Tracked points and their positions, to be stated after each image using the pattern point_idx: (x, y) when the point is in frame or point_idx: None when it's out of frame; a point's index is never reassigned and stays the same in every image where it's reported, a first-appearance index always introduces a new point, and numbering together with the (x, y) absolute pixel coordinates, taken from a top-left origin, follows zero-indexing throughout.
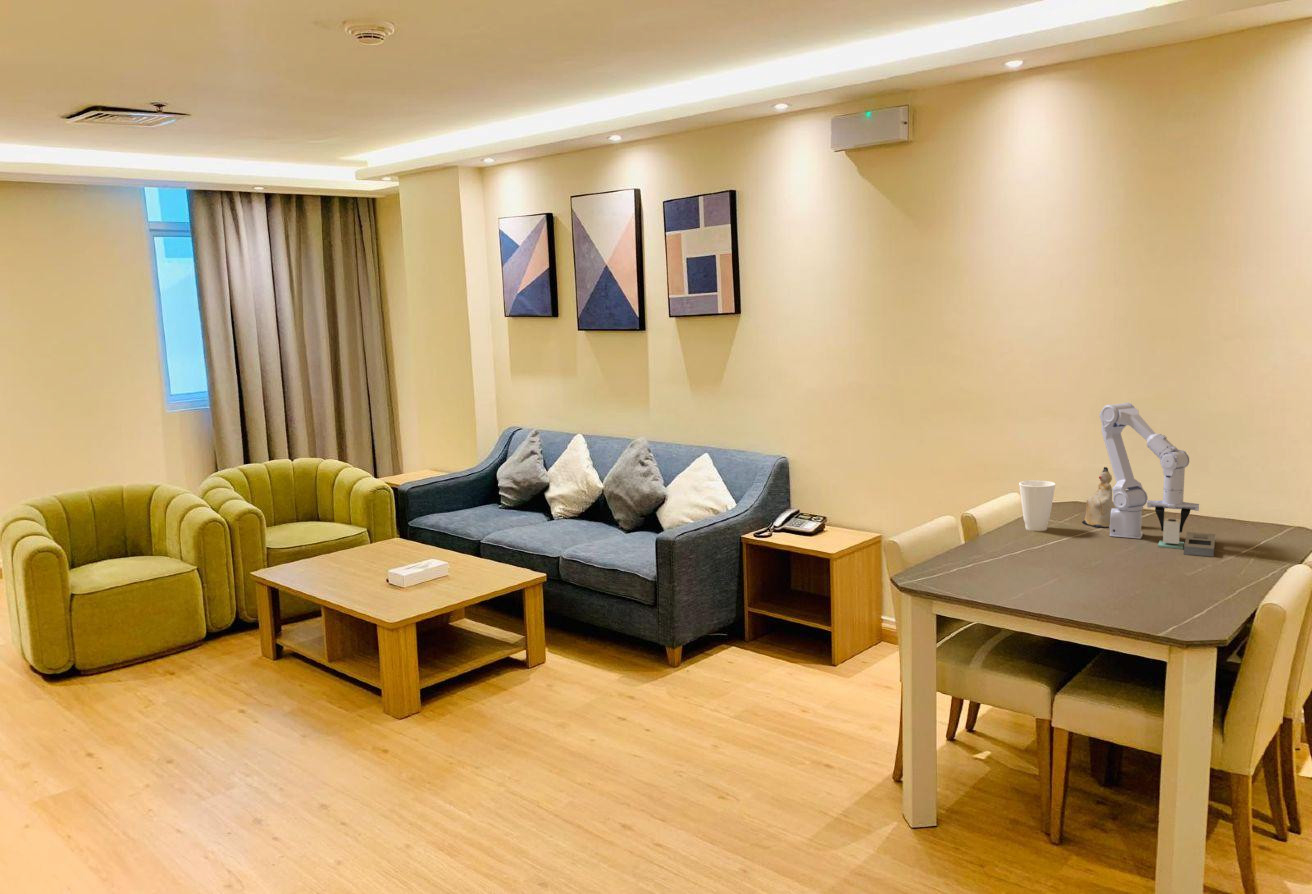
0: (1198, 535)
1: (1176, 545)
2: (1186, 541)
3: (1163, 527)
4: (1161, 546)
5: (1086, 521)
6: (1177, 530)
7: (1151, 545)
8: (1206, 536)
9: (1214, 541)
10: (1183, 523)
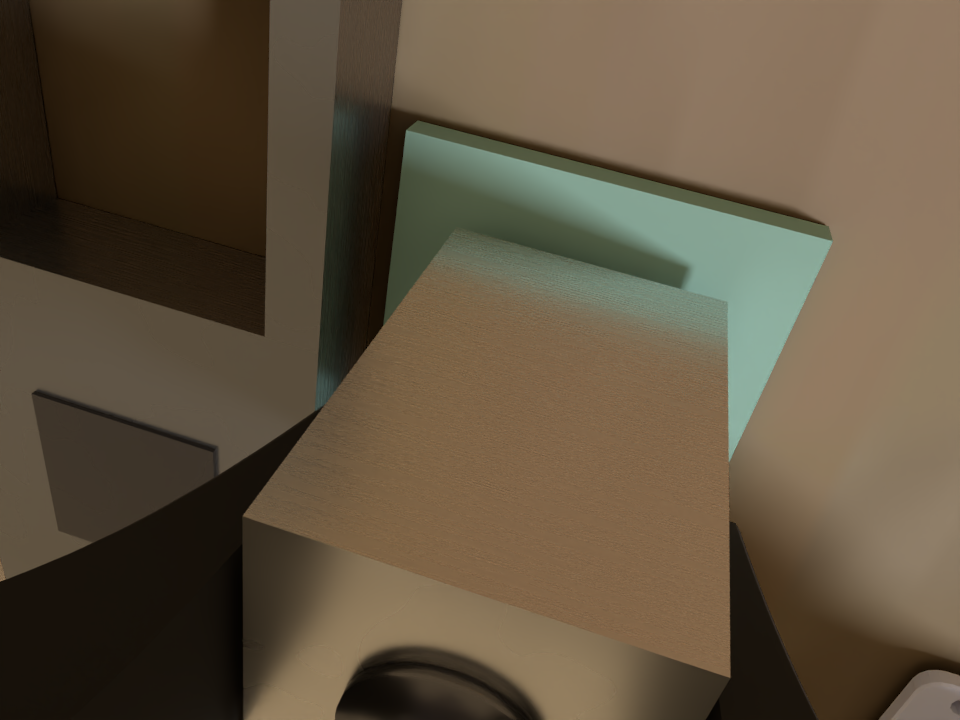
0: None
1: None
2: (306, 161)
3: None
4: (770, 214)
5: None
6: (398, 376)
7: (908, 335)
8: (63, 484)
9: None
10: (177, 510)
